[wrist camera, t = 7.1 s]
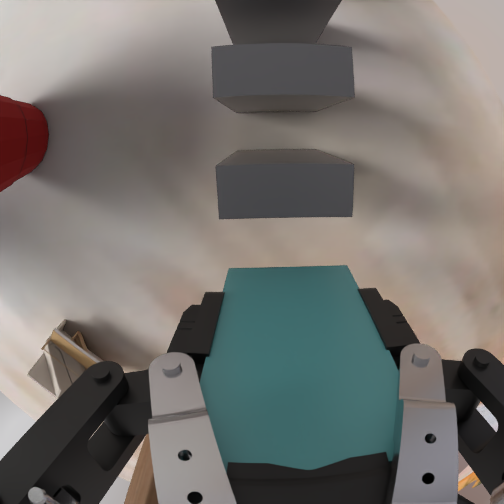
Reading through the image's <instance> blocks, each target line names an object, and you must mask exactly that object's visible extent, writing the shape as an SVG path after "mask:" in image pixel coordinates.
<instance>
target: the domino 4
mask: <svg viewBox="0 0 504 504" xmlns="http://www.w3.org/2000/svg"><path fill="white" fill-rule="evenodd" d="M357 289H359V287H358V285H357V283H356V282H355V280H354V278H353V276H352V274H351V272H350V270H349V268H348V266H347V265H340V266H307V267H268V268H229V270H228V273H227V277H226V281H225V285H224V289H223V292H225V294H224V298H223V302H222V306H221V310H220V315H219V319H218V323H217V327H216V331H215V335H214V339H213V344H212V348H211V352H210V356H209V357H206V359H205V363H204V367H203V371H202V375H201V379H200V387H201V391H202V395H203V399H204V402H205V406H206V409H207V412H208V415H209V419H210V422H211V426H212V429H213V432H214V436H215V439H216V442H217V446H218V449H219V452H220V455H221V459H222V462H223V465H224V468H225V471H226V474H227V466H228V462H237V463H270V464H275V465H280V466H286V467H292V468H298V469H304V470H313V469H317V468H320V467H323V466H326V465H329V464H332V463H335V462H338V461H341V460H344V459H347V458H350V457H357V456H364V455H370V454H376V453H381V452H386V453H387V457H388V461H389V462H392V459H393V451H394V441H393V433H394V424H395V414H396V402H397V387H398V369H397V367H396V364H395V362H394V360H393V358H392V355H391V353H390V351H389V350H386V349H385V346H384V344H383V342H382V340H381V338H380V335H379V333H378V331H377V329H376V327H375V325H374V322H373V320H372V318H371V316H370V314H369V312H368V310H367V308H366V306H365V304H364V302H363V300H362V298H361V296H360V294H359V292H358V290H357Z"/></svg>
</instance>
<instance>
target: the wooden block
mask: <svg viewBox="0 0 504 504" xmlns="http://www.w3.org/2000/svg"><path fill="white" fill-rule="evenodd" d="M124 504H159V503H158V498H157V492H156V486H155V479H154V472H153V465H152V457H151V449H150V440H149V434H146V437H145V439H144V442H143V445H142V448H141V451H140V454H139V458H138V461H137V464H136V467H135V470H134V473H133V476H132V479H131V483H130V486H129V489H128V492H127V495H126V499H125V502H124Z"/></svg>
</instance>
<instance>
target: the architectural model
mask: <svg viewBox="0 0 504 504" xmlns="http://www.w3.org/2000/svg"><path fill="white" fill-rule="evenodd" d="M65 323H66V320H65V319H64V321H63V322H62V323H61V324H60V325H59V326H58V327H57V329H56V328H55V329H54V330H53V332H52V334H51V336H50V337H49V338H48V339H47V340H46V343H45V345H44V346H43V347H42V350H44V353H43V355H42V356H41V357H40V358H39V360H38V361H37V362H36V364H35V365H34V366H33V367H32V369H31V370H30V371H29V373H28V374H27V375H28V376H29V377H30V378H31V379H33V380H34V381H35V382H36V383H38V384H39V385H40V386H41V387H43V388H44V389H45V390H47V391H48V392H49V393H51V394H52V395H53V396H55V397H56V398H57V399H58V398H59V397H60V396H61V395H62V394H63V393H64V392H65V391H66V390H67V389H68V388H69V387H70V386H71V385H72V384H73V383H74V382H75V381H76V380H77V379H78V378H79V377H80V376H81V375H82V374H83V373H84V371H85V370H86V369H88V368H89V367H90V366H92V365H93V364H96V363H98V362H103V360H102V359H101V358H99V357H98V356H96V355H95V354H94V353H92V352H91V351H89V350H88V349H87V348H86V345H85V342H84V340H83V337H82V334H81V333H80V332H79V331H77V332H76V334H75V335H74V336H73V338H72V337H71V336H69V335H68V334H67V333H66V332H64V331H63V328H64V325H65ZM75 336H76V338H75Z"/></svg>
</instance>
